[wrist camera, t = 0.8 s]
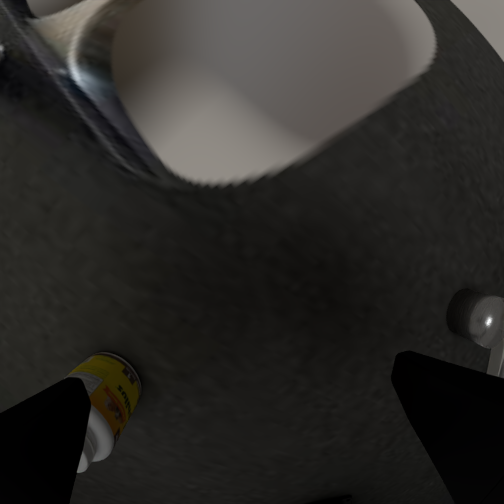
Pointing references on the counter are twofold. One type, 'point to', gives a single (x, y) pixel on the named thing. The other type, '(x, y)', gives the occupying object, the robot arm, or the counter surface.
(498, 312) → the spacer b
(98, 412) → the supplement bottle
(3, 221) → the counter surface
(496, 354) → the scale
